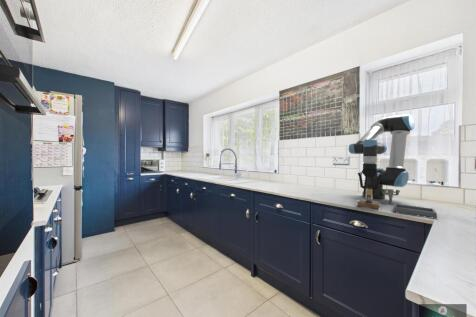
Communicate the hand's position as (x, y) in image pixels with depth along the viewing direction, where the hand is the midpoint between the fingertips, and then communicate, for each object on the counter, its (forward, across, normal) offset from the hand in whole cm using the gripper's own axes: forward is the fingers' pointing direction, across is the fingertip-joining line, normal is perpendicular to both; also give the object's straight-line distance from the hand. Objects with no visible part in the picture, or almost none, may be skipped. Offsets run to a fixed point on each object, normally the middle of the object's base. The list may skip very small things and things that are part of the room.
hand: (368, 199), depth 130 cm
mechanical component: (+5, +11, +19) cm, 22 cm away
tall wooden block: (+4, 0, 0) cm, 4 cm away
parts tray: (+5, +22, 0) cm, 22 cm away
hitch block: (+5, 0, 0) cm, 5 cm away
